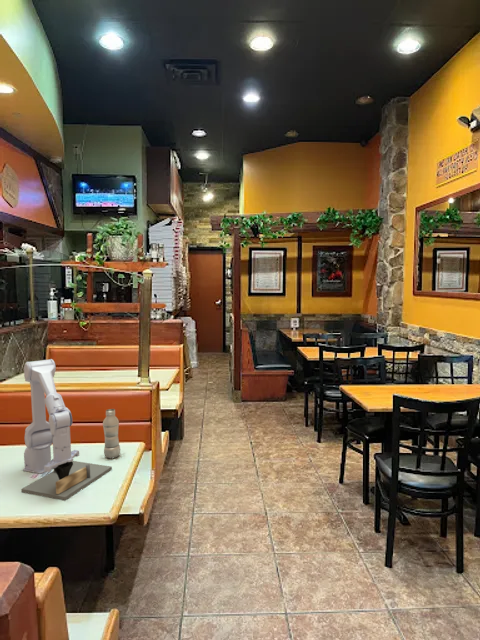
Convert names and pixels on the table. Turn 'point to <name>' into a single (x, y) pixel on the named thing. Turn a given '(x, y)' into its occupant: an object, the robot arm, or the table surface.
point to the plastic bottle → (111, 434)
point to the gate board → (48, 488)
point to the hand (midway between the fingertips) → (63, 483)
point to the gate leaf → (71, 480)
